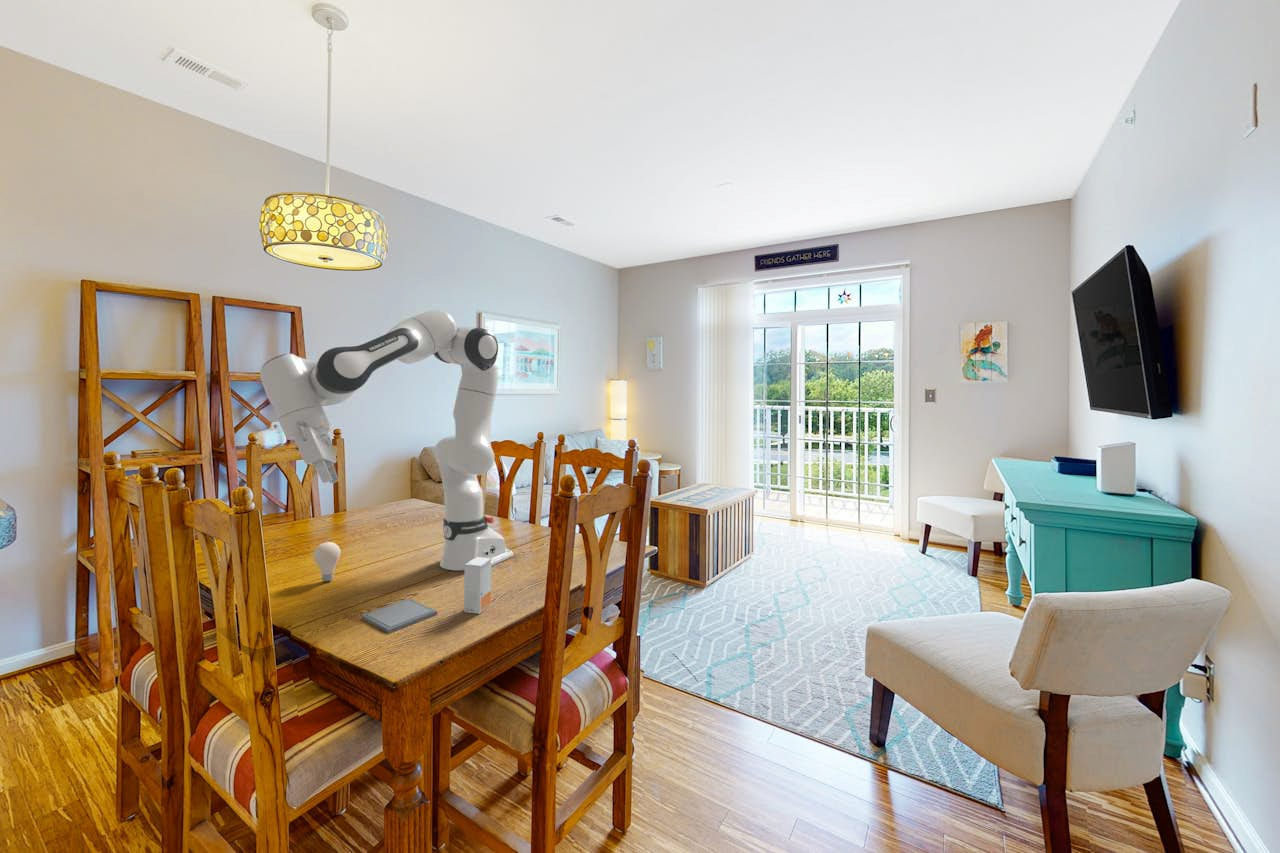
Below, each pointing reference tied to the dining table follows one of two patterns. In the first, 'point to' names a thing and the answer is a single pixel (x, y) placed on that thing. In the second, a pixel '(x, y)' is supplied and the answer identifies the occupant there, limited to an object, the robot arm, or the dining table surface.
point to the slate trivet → (398, 615)
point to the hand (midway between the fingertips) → (331, 482)
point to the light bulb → (327, 559)
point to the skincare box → (477, 585)
